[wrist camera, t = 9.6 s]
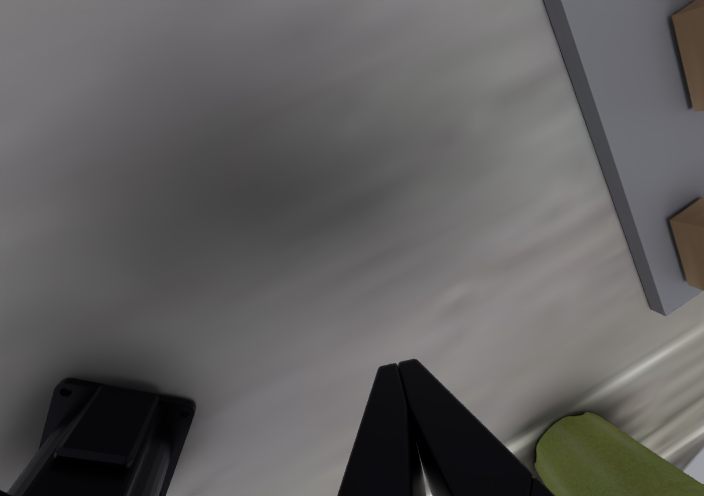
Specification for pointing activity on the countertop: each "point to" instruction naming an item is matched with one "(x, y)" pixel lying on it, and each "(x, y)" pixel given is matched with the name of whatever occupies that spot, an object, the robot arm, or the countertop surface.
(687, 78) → the key middle
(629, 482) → the plant pot
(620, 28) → the key console
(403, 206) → the countertop surface
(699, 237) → the key
